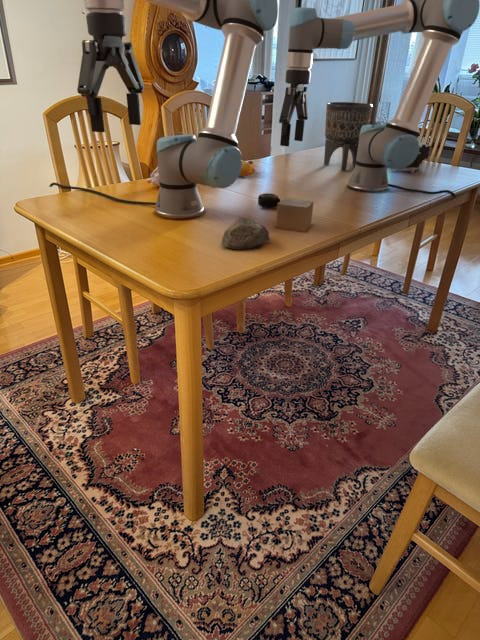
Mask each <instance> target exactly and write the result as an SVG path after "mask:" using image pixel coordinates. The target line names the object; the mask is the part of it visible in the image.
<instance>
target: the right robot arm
mask: <svg viewBox="0 0 480 640" xmlns="http://www.w3.org/2000/svg"><path fill="white" fill-rule="evenodd" d="M479 12H480V0H402V1H401V2H400V3H399V4H395V5H390V6H386V7H380V8H375V9H371V10H366V11H361V12H355V13H350V14H346V15H341V16H336V17H331V18H328V17H327V18H326V17H324V18H323V17H320V16H319V15H318V9H316V8H314V7H307V6H306V7H304V6H303V7H302V6H301V7H300V6H299V7H295V8H293V9H292V11H291V15H290V21H289V32H288V34H289V35H288V48H287V49H288V50H287V56H286V57H285V60H287V61H286V67H287V68H288V69H286V71H285V83H286V84H290V86H289V87H287V86H286V87H285V93H284V98H283V103H282V107H281V111H280V115H279V116H280V117H279V119H278V123H279V124H281V131H280V142H279V146H281V147H290V139H291V130H292V129H291V128H292V124H291V121H292V118H293V114H294V111H296V117H297V119H295V128H294V137H293V138H294V139H293V141H294V142H295V141H296V142H303V140H304V132H305V123H306V122H305V121H307V120H308V118H309V117H308V86H305V85H309V84H310V82H311V75H312V72H311V70H310V69H312V66H313V57H314V50H317V49H318V50H319V49H323V50H324V49H326V50H327V49H333V50H347V49H348V48H350V47H351V46H352V43H353V42H355V41H360V40H365V39H370V38H374V37H380V36H385V35H389V34H394V33H401V34H403V35H406V34H411V33H421V34H422V36H423V39H424V40H423V43H422V46H421V48H420V50H419V53H418V56H417V57H416V59H415V60H416V61H415V63H414V65H413V68H412V70H411V73H410V76H409V78H408V81H407V83H406V86H405V88H404V90H403V94H402V95H401V98H400V101H399V103H398V105H397V108H396V111H395V113H394V116H393V118H391V119H390V120H388V121H387V122H386V124H369V125H364V126H362V128H361V131H360V135H359V143H358V151H357V158H356V165H355V166H354V167H353V171H351V174H350V176H349V179H348V182H347V187H348V188H349V189H351V190H354V191H358V192H363V193H364V192H365V193H382V192H386V191H388V189H389V187H390V188H394V189H397V190H402V191H405V192H412V193H420V194H426V195H439V194H449V195H451V196H452V197H456V194H455V193H454V192H453V191H452V190H448V189H443V190H437V191H436V190H435V191H428V190H423V189H415V188H409V187H404V186H400V185H396V184H392V183H389V178H388V173H387V172H388V171H387V169H389V168H391V169H390V170H393V169H403V168H405V167H407V166H409V165H410V164H411V163H412V162H413V161H414V160H415V159H416V157H417V155H418V153H419V142H420V141H419V140H418V138H419V136H420V133H421V131H420V127H419V124H420V121H421V120H422V117H423V115H424V112H425V110H426V108H427V106H428V103H429V101H430V98H431V96H432V94H433V92H434V88H435V86H436V83H437V82H438V79H439V77H440V74H441V72H442V70H443V67H444V65H445V63H446V61H447V58H448V55H449V53H450V51H451V49H452V47H454V46H455V45H457V44H458V43H459V41H460V39H461V37H462V35H463V33H464V31H466V30H468V29H470V28H471V27H472V26H473V24H474V25H475V22H476V20H477V18H478V16H479ZM418 127H419V128H418Z"/></svg>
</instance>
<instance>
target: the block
mask: <svg viewBox="0 0 480 640" xmlns="http://www.w3.org/2000/svg"><path fill="white" fill-rule="evenodd" d="M313 209H314V200H308V199H307V200H306V199H302V198H301V199H300V198H291V197H284V198H282V199H280V202H279V203H278V204H277V207H276V220H275V228H276V229H283V230H289V231H296V232H302V233H306V231H307V230H308V229H309V228H310V226H311V225H312V220H313V211H314V210H313Z"/></svg>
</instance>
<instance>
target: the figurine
mask: <svg viewBox="0 0 480 640" xmlns="http://www.w3.org/2000/svg"><path fill="white" fill-rule="evenodd" d="M149 176H150V177H149V178H147V179H146V182H145V183H147V184H152V185H153V186H159V173H158V166H156V168H155V169H154V170H153V171H152V172H151V173H150V175H149Z"/></svg>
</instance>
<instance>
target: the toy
mask: <svg viewBox="0 0 480 640" xmlns="http://www.w3.org/2000/svg"><path fill="white" fill-rule="evenodd" d="M255 173H256V169H255V163H254V161H253V160H248V161H246V160H242V168H241V171H240V174H239V176H238V177H242V178H243V177H245V178H246V177H249V176H252V175H254V174H255Z"/></svg>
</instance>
